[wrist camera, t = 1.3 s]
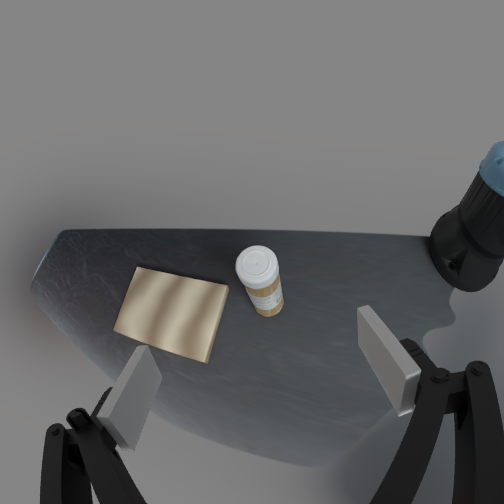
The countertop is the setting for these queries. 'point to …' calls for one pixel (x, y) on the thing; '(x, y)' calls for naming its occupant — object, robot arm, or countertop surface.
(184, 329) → the birch board
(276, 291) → the sprinkles bottle
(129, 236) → the countertop surface
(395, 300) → the countertop surface
